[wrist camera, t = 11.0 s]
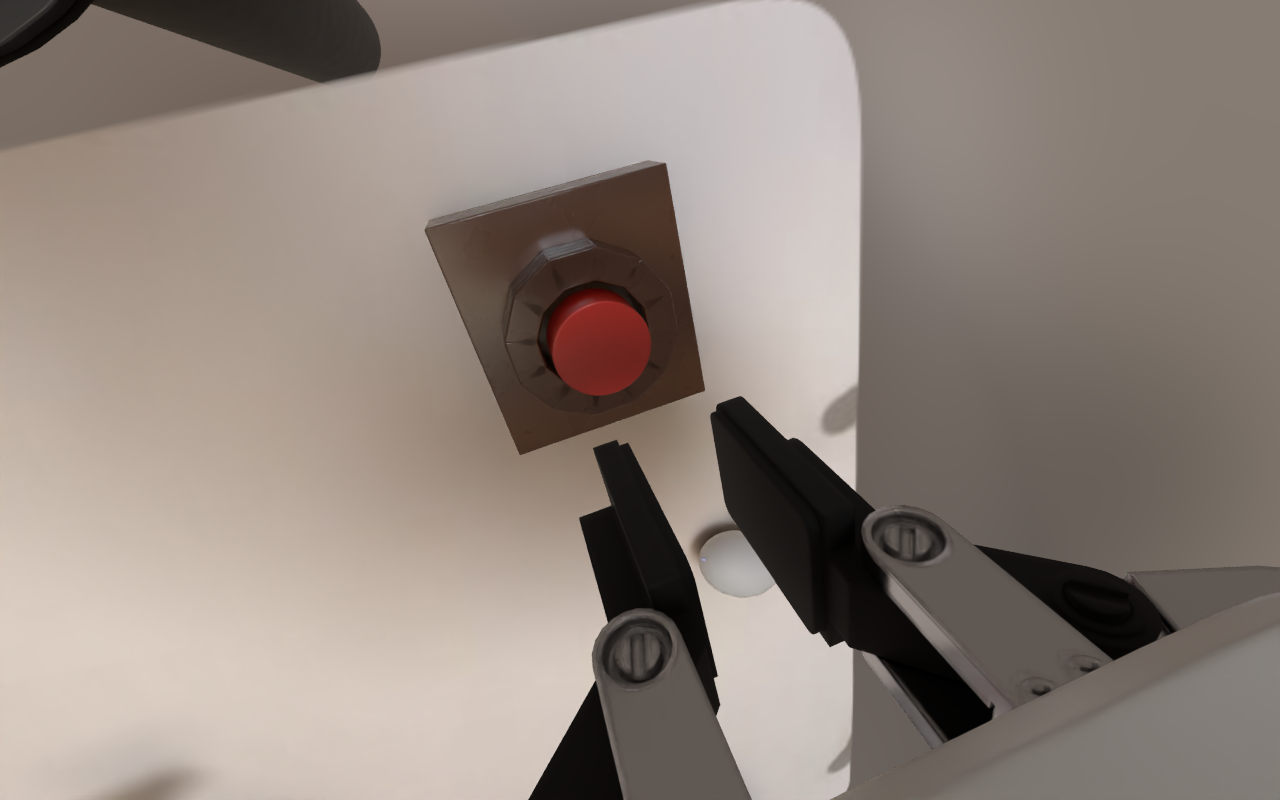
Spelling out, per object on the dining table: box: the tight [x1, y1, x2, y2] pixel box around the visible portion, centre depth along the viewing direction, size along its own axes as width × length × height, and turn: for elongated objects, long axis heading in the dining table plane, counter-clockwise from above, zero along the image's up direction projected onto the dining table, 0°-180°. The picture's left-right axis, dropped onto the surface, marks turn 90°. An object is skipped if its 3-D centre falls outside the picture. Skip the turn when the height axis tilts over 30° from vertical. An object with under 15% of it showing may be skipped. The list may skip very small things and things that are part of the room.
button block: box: [425, 161, 705, 455], centre depth 21 cm, size 10×9×4 cm
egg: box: [699, 530, 775, 598], centre depth 30 cm, size 4×6×4 cm, turn 66°
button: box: [546, 288, 651, 395], centre depth 19 cm, size 4×4×2 cm
